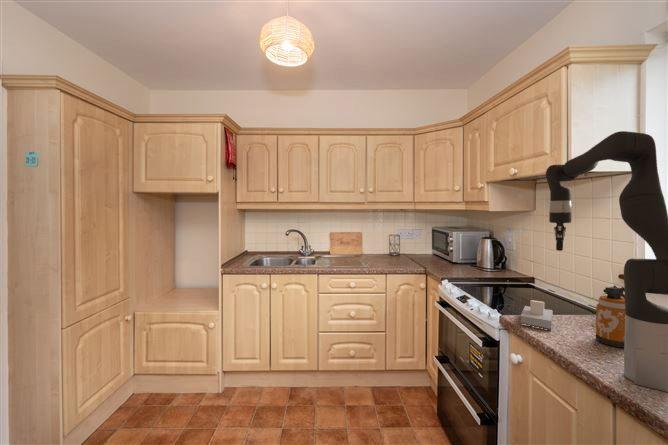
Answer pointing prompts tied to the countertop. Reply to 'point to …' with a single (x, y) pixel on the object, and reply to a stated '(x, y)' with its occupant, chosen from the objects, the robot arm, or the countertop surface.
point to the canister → (611, 317)
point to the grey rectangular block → (537, 318)
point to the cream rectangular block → (537, 307)
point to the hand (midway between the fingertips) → (559, 249)
